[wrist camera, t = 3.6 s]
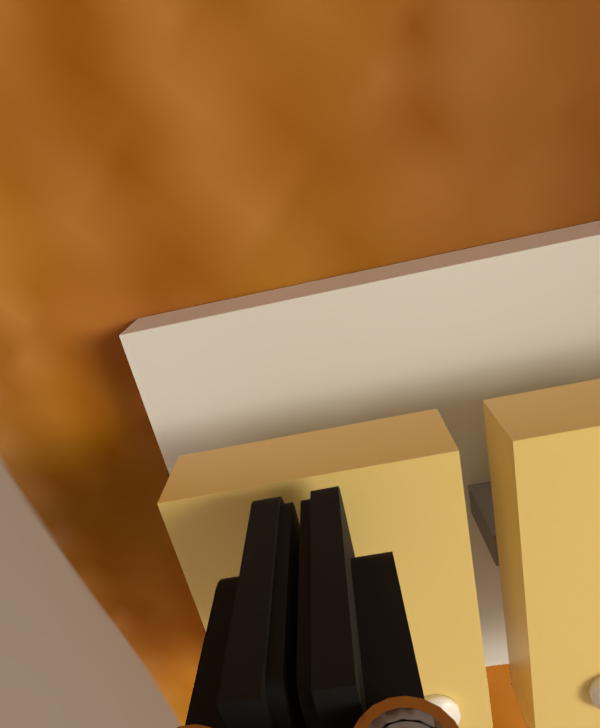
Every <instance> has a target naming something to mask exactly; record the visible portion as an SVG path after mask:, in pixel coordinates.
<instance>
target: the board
mask: <svg viewBox="0 0 600 728" xmlns="http://www.w3.org/2000/svg"><path fill="white" fill-rule="evenodd" d="M119 337H120V340H121V343H122V345H123V348H124V351H125V354H126V356H127V359H128V362H129V365H130V367H131V370H132V373H133V376H134V379H135V381H136V384H137V387H138V390H139V392H140V395H141V398H142V401H143V403H144V406H145V409H146V412H147V414H148V417H149V420H150V423H151V426H152V428H153V431H154V434H155V437H156V439H157V442H158V445H159V448H160V450H161V453H162V456H163V459H164V461H165V464H166V467H167V470H168V473H169V475H170V474H171V472H172V470H173V467H174V465H175V463H176V461H177V458H178V456H182V455H187V454H192V453H198V452H203V451H209V450H214V449H220V448H225V447H230V446H236V445H241V444H247V443H252V442H258V441H263V440H269V439H274V438H279V437H285V436H290V435H296V434H301V433H307V432H312V431H317V430H323V429H328V428H334V427H339V426H345V425H350V424H355V423H361V422H366V421H372V420H377V419H383V418H388V417H393V416H399V415H404V414H410V413H415V412H421V411H426V410H432V409H438V411H439V413H440V415H441V417H442V419H443V421H444V423H445V425H446V427H447V429H448V431H449V432H450V434H451V436H452V438H453V440H454V442H455V444H456V446H457V448H458V450H459V455H460V463H461V471H462V479H463V487H464V496H465V504H466V512H467V520H468V528H469V536H470V544H471V552H472V560H473V569H474V577H475V585H476V593H477V601H478V609H479V617H480V625H481V633H482V642H483V650H484V658H485V666H486V667H487V666H494V665H501V664H509V658H508V648H507V638H506V628H505V618H504V609H503V599H502V589H501V579H500V569H499V559H498V549H497V539H496V529H495V519H494V509H493V499H492V489H491V479H490V469H489V459H488V449H487V439H486V429H485V419H484V409H483V400H486V399H491V398H497V397H502V396H508V395H513V394H518V393H524V392H529V391H535V390H540V389H546V388H551V387H556V386H562V385H567V384H573V383H578V382H584V381H589V380H595V379H600V221H595V222H590V223H586V224H581V225H576V226H572V227H567V228H562V229H557V230H553V231H548V232H543V233H539V234H534V235H529V236H524V237H520V238H515V239H510V240H506V241H501V242H496V243H491V244H487V245H482V246H477V247H473V248H468V249H463V250H458V251H454V252H449V253H444V254H440V255H435V256H430V257H425V258H421V259H416V260H411V261H407V262H402V263H397V264H392V265H388V266H383V267H378V268H374V269H369V270H364V271H359V272H355V273H350V274H345V275H341V276H336V277H331V278H326V279H322V280H317V281H312V282H308V283H303V284H298V285H293V286H289V287H284V288H279V289H275V290H270V291H265V292H260V293H256V294H251V295H246V296H242V297H237V298H232V299H227V300H223V301H218V302H213V303H209V304H204V305H199V306H194V307H190V308H185V309H180V310H176V311H171V312H166V313H161V314H157V315H152V316H147V317H143V318H138V319H137V320H136V321H135V322H133V323H132V324H131V325H130V326H129V327H128V328H127V329H126V330H124V331H123V332H122V333H121V334H120V335H119Z"/></svg>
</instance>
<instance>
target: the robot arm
mask: <svg viewBox="0 0 600 728" xmlns="http://www.w3.org/2000/svg"><path fill="white" fill-rule="evenodd" d="M177 728H459V727H458V725H457V724H456V722H455V720H454V719H452V718H451V717H450V716H449V715H448V714H447V713H446V712H445V711H444V710H443V709H442V708H441V707H439V706H437V705H435V704H433V703H431V702H429V701H427V700H425V698H424V694H423V689H422V684H421V680H420V675H419V671H418V666H417V662H416V657H415V652H414V648H413V643H412V639H411V634H410V630H409V625H408V620H407V616H406V611H405V607H404V602H403V598H402V593H401V588H400V584H399V579H398V575H397V570H396V566H395V561H394V556H393V552H392V551H391V552H385V553H379V554H373V555H367V556H361V557H355V554H354V549H353V545H352V541H351V536H350V532H349V527H348V523H347V518H346V514H345V509H344V505H343V500H342V496H341V492H340V488H339V486H336V487H331V488H325V489H319V490H313V491H311V492H310V499H307V500H301V506H300V524H299V520H298V516H297V512H296V509H295V505H294V503H293V502H290V503H284V501H283V499H282V497H281V496H279V497H273V498H268V499H262V500H256V501H253V502H252V504H251V509H250V515H249V521H248V527H247V532H246V538H245V544H244V550H243V555H242V561H241V567H240V573H239V576H237V577H231V578H225V579H220V581H219V582H218V584H217V587H216V590H215V594H214V599H213V603H212V607H211V612H210V616H209V621H208V625H207V630H206V634H205V639H204V643H203V648H202V652H201V657H200V661H199V666H198V670H197V675H196V679H195V683H194V688H193V692H192V697H191V701H190V706H189V710H188V715H187V719H186V724H185V726H180V727H177Z"/></svg>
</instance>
